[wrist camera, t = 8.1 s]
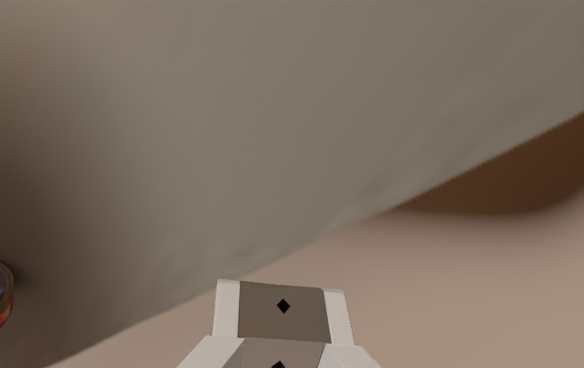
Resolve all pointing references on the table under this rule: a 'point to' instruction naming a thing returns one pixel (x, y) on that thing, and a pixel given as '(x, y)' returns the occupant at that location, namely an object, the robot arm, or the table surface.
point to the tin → (5, 293)
